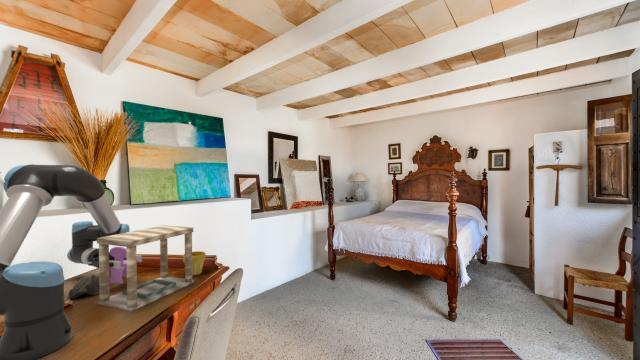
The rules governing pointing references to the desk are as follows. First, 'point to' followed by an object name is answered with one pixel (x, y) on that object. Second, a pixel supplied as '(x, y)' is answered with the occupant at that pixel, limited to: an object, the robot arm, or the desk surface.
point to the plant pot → (197, 261)
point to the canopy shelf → (148, 290)
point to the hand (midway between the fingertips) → (130, 261)
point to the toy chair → (116, 273)
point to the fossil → (85, 287)
